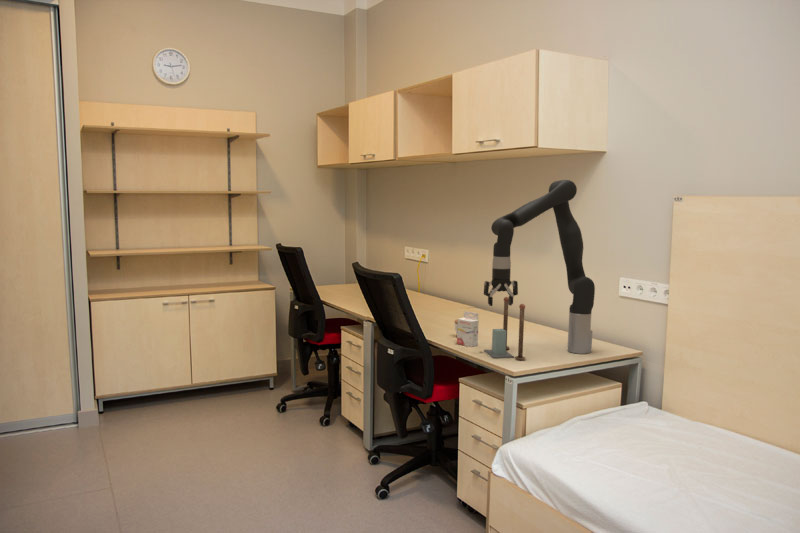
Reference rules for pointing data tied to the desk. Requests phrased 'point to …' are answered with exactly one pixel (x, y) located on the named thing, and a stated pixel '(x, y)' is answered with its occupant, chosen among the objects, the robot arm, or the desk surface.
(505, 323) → the post
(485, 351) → the mat
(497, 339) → the block
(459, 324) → the ink cartridge box
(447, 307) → the desk surface
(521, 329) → the post
